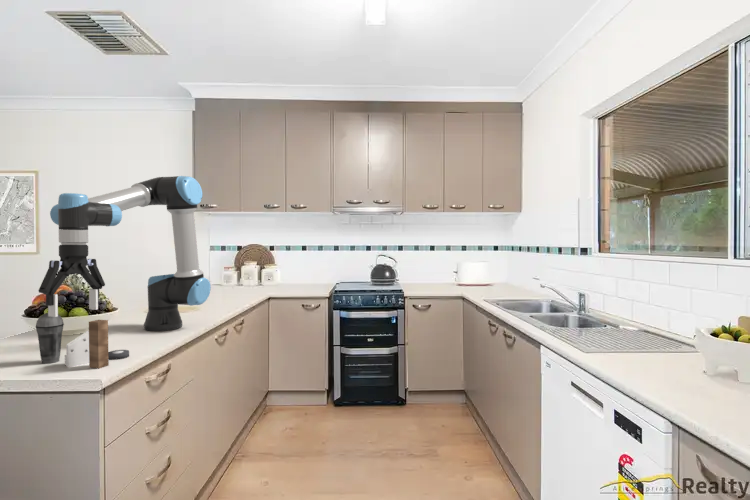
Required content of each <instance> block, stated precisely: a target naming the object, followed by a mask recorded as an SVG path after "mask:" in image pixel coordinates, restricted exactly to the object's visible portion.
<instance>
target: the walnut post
mask: <svg viewBox="0 0 750 500" xmlns="http://www.w3.org/2000/svg"><path fill="white" fill-rule="evenodd" d="M88 331H89V366H88V368H89V369H90V368H91V369H97V368H98V369H102V368H104V367H107V366H110V365H109V360H108V352H109V319H94V320H92V321H88ZM98 369H97V370H98Z"/></svg>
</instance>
